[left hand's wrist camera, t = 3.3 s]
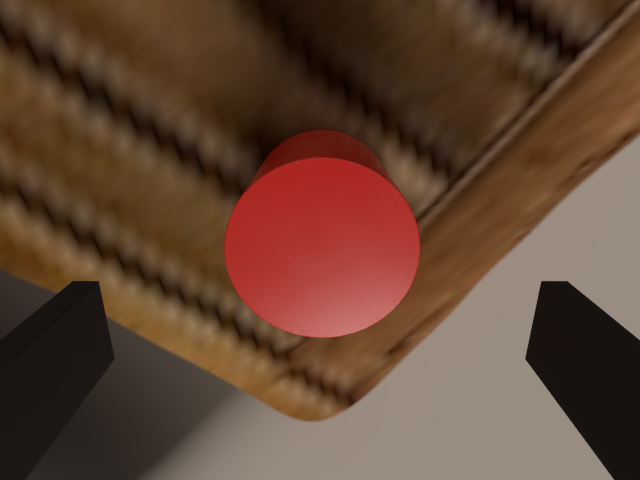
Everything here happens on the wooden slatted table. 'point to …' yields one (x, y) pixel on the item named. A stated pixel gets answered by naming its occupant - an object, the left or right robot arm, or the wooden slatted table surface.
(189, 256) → the wooden slatted table surface
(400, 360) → the wooden slatted table surface
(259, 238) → the cylinder
